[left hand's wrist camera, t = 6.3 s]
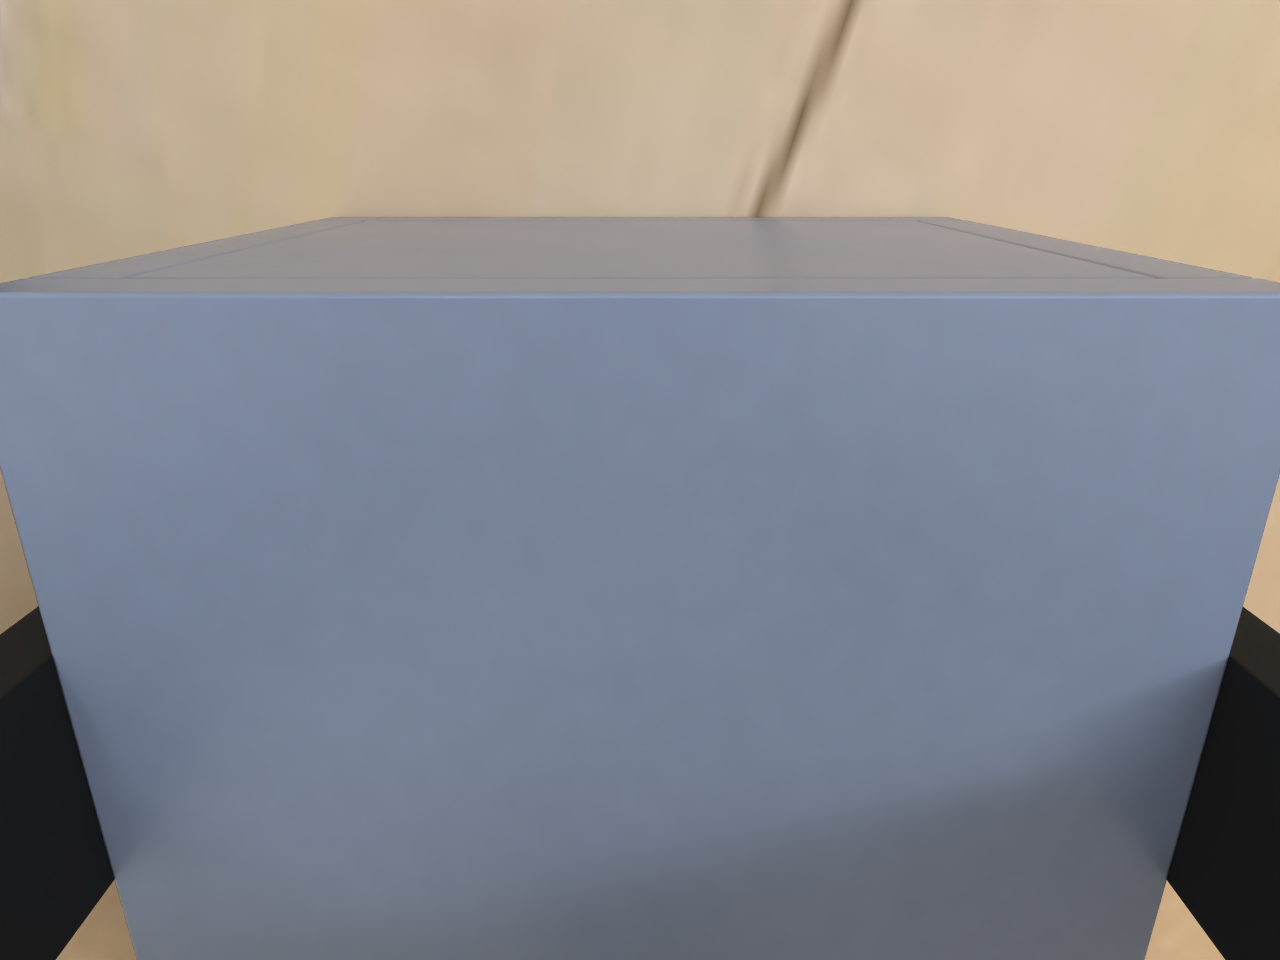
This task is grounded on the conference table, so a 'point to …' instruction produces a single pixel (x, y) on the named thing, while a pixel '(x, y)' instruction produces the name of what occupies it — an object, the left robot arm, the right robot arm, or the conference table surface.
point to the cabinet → (640, 581)
